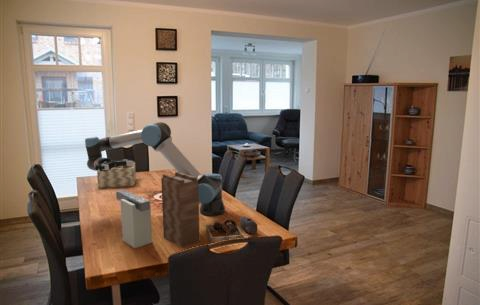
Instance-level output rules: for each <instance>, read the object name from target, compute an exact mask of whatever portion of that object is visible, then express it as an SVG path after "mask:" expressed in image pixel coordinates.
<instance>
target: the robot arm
mask: <svg viewBox="0 0 480 305" xmlns="http://www.w3.org/2000/svg"><path fill="white" fill-rule="evenodd" d="M171 135H172V130H171V127H170V126H169V125H168V124H167V123H166V122H162V121H160V122H159V121H158V122H155V123H149V124H147V125H145V126H144V127H143V128H142V129H139V130H135V131H134V130H133V131H130V132H125V133H121V134H117V135H112V136H107V137H106V136H105V137H103V138H99V137H98V136H91V137H87V138H84V139H85V140H84V145H85V149H86V154H87V163H86V166H87V168H88V169H89V170H91V171H96V172H97V171H101V172H103V171H109V170H111V168H113V167H118V166H126V165H127V166H134V163H133V162H134V160H131V159H129V158H128V160H126V161H123V160H111V158H109V157H103V152H104V151H105V152H106V151H108V150H113V149H118V148H122V147H127V146H128V147H129V146H132V145H137V144H141V143H143V144H145V146H148V147H151V148H152V149H153V150H154V152H159V153H161V155H162V156H163V157H164V158H165V159H166V160H167V162H169V164H170V165H171V166H172V167H173V168H174V170H175V171H176V172H180V173H183V174H187V175H190V176H194V177H197V180H198V193H199V204H200V205H199V214H201V215H204V216H208V217H213V216H214V217H215V216H221V215H222V214H224V213H226V206H225V203H224V200H223V177H222V175H221V174H219V173H201V172H199V171H198V169H197V168H196V167H195V166H194V165H193V163H191V161H190V160H189V159H188V158H187V156H185V154H183V152H182V151H181V150H180V149H179V147H177V146H176V145H175V144H174V142H173V141H172V139H173V138H172V136H171ZM115 165H116V166H115Z"/></svg>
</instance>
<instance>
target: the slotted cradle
mask: <svg viewBox="0 0 480 305" xmlns="http://www.w3.org/2000/svg"><path fill="white" fill-rule="evenodd" d="M138 196H139V195H138ZM139 197H141V198H143V197H142V196H139ZM147 200H148V199H147ZM148 201H150V200H148ZM119 202H120V214H121V215H120V216H121V217H120V218H121V231H122V232H121V233H122V234H121V235H122V242H124V243H126V244H127V245H128V246H131V247H132V248H133V249H137V248H140V247H143V246H146V245H148V244H152V243H153V234H152V233H153V232H152V231H153V230H152V210H151V205H150V210H146V211H140V210H138V209H136V208H135V204H133V203H131V202H129V201H127V200H125V199H121V200H119Z"/></svg>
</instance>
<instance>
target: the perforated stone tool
mask: <svg viewBox="0 0 480 305" xmlns="http://www.w3.org/2000/svg"><path fill="white" fill-rule="evenodd" d="M239 224H240V227H241V228H242V229H243V230H244V231H245V232H246V233H248V234H256V233H257V232H258V223H256V221H255V220H253V219H252V218H250V217H247V216H242V217H241V218H240V220H239Z"/></svg>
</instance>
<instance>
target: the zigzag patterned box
mask: <svg viewBox="0 0 480 305" xmlns="http://www.w3.org/2000/svg"><path fill="white" fill-rule="evenodd" d="M133 163H134V166H128V168H123V166H118V167H113V168H111V170H109V171H103V172H101V171H96V174H97V187H98V189H100V188H103V189H104V188H117V187H118V188H119V187H130V186H131V187H133V186H135V184H136V181H137V173H136V172H137V171H136V162H135V161H133ZM115 166H116V165H115Z"/></svg>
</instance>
